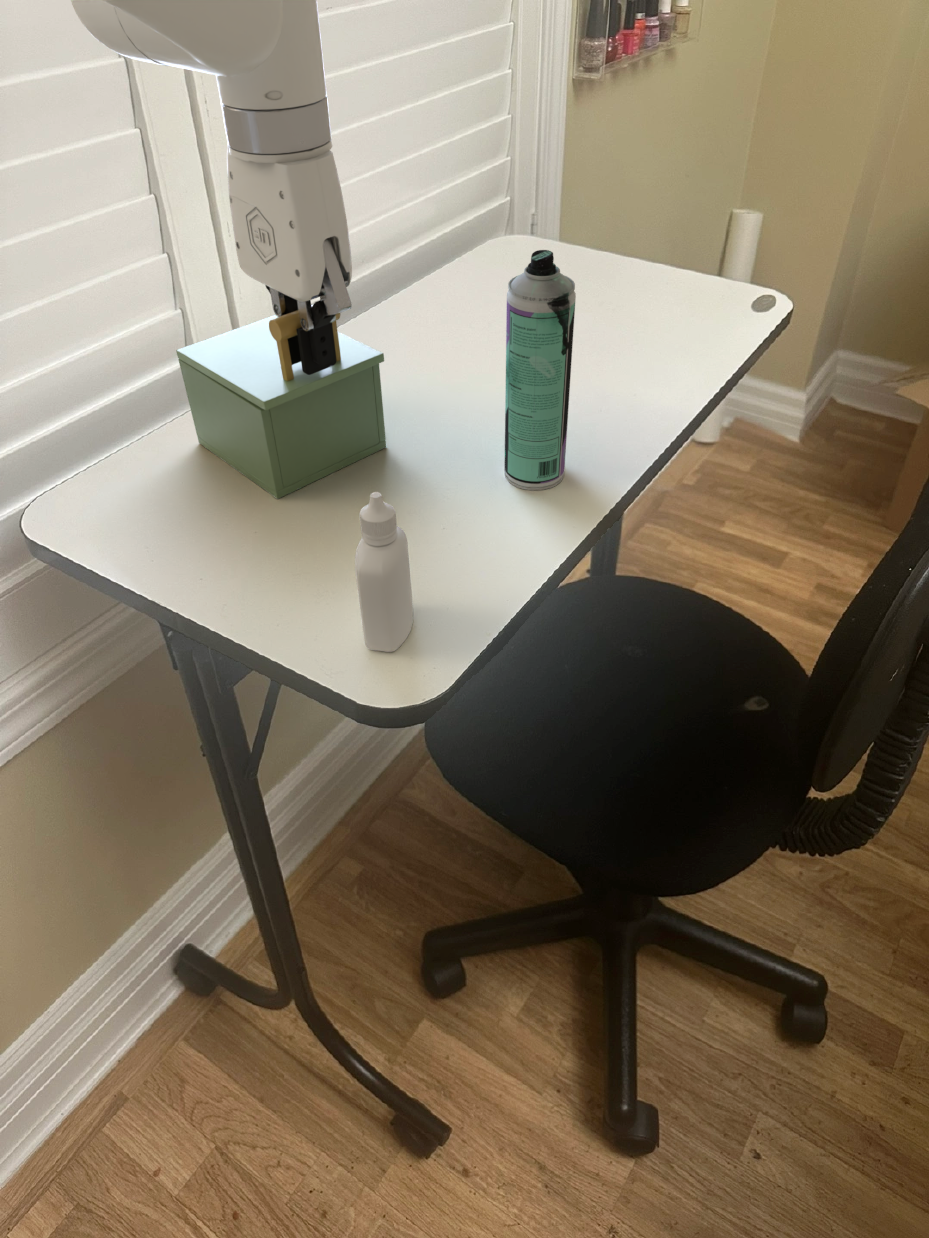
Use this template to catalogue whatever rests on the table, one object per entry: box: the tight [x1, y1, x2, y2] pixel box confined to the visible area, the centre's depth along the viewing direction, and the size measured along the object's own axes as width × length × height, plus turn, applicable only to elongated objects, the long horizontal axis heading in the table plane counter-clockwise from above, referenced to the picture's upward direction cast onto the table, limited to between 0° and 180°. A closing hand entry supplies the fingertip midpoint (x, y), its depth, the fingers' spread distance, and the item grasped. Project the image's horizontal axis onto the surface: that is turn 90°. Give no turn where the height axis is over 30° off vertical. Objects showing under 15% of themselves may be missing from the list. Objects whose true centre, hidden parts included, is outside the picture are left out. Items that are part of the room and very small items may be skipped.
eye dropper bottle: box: [354, 491, 414, 653], centre depth 64 cm, size 4×6×12 cm
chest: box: [177, 358, 387, 500], centre depth 85 cm, size 14×13×9 cm
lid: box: [175, 304, 385, 410], centre depth 79 cm, size 14×13×6 cm
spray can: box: [504, 249, 577, 491], centre depth 76 cm, size 6×6×20 cm
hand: (311, 362), depth 78 cm, fingers closed on lid, 2 cm apart
